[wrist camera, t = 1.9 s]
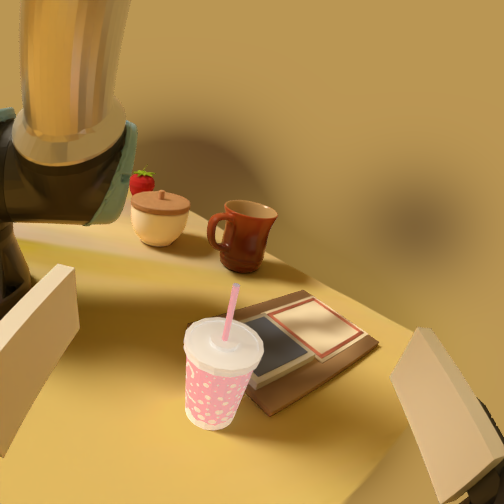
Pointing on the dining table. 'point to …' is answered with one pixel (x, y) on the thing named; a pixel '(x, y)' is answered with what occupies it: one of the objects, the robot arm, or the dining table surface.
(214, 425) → the beverage cup
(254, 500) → the dining table surface
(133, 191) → the strawberry
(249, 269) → the mug
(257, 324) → the stamp board
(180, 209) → the lidded jar
